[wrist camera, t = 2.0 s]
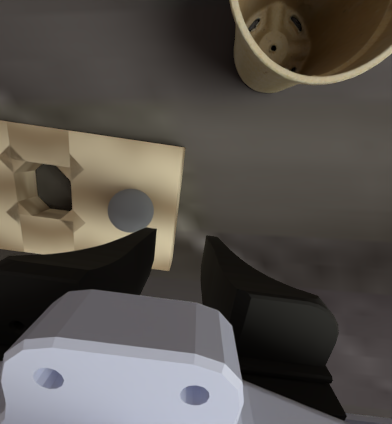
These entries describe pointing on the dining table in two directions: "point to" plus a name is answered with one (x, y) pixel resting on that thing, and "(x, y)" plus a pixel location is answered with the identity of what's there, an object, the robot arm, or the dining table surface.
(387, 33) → the flower pot
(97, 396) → the robot arm
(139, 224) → the ball
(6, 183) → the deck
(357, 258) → the dining table surface
